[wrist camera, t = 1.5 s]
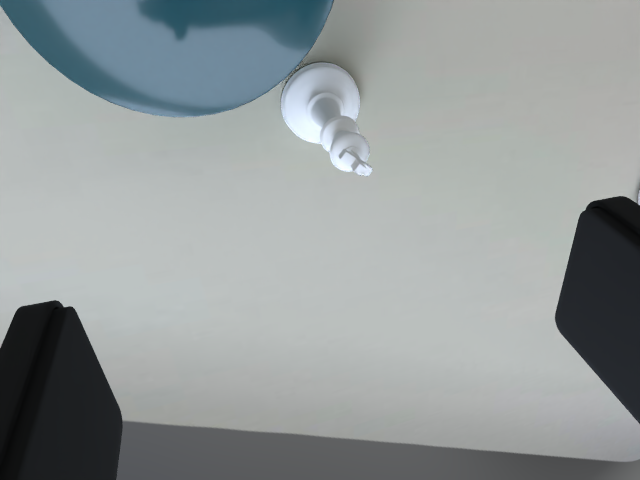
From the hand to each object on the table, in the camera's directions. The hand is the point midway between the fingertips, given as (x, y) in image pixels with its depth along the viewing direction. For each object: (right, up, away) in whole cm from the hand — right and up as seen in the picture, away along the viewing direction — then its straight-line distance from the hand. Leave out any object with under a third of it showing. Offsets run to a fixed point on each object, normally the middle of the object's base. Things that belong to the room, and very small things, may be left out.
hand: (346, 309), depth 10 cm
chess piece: (-1, +10, +23) cm, 25 cm away
